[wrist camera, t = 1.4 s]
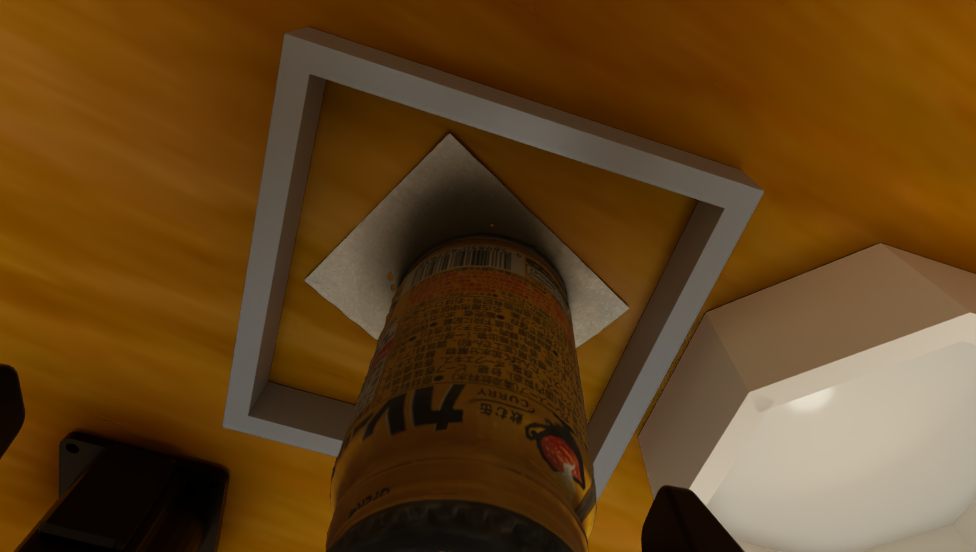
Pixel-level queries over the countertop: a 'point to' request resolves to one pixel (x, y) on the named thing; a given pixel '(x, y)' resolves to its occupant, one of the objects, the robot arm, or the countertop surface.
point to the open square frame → (431, 90)
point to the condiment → (464, 371)
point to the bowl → (831, 410)
